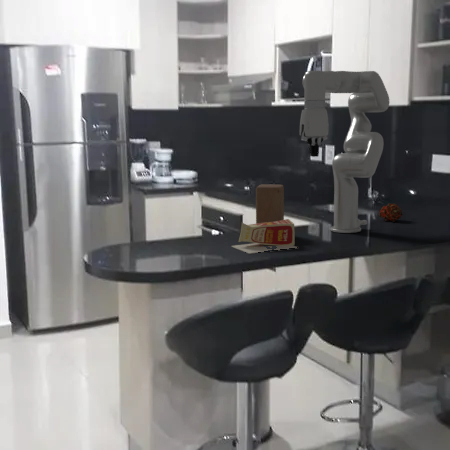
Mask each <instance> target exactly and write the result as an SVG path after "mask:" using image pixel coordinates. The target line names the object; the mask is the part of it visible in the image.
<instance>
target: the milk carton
mask: <svg viewBox="0 0 450 450" xmlns="http://www.w3.org/2000/svg"><path fill="white" fill-rule="evenodd" d="M295 236H296V234H295V223H294V222H293V221H291V219H289V218H286V219H284V220H281V221H275V222H266V223H257V224H256V223H250V224H246V223H244V222H242V221H241V227H240V235H239V238H238V243H241V242H245V243H246V242H248V243H251V244H253V243H258V244H263V245H276V246H287V245H293V246H295V243H296V242H295V241H296V240H295V239H296V238H295Z"/></svg>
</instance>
